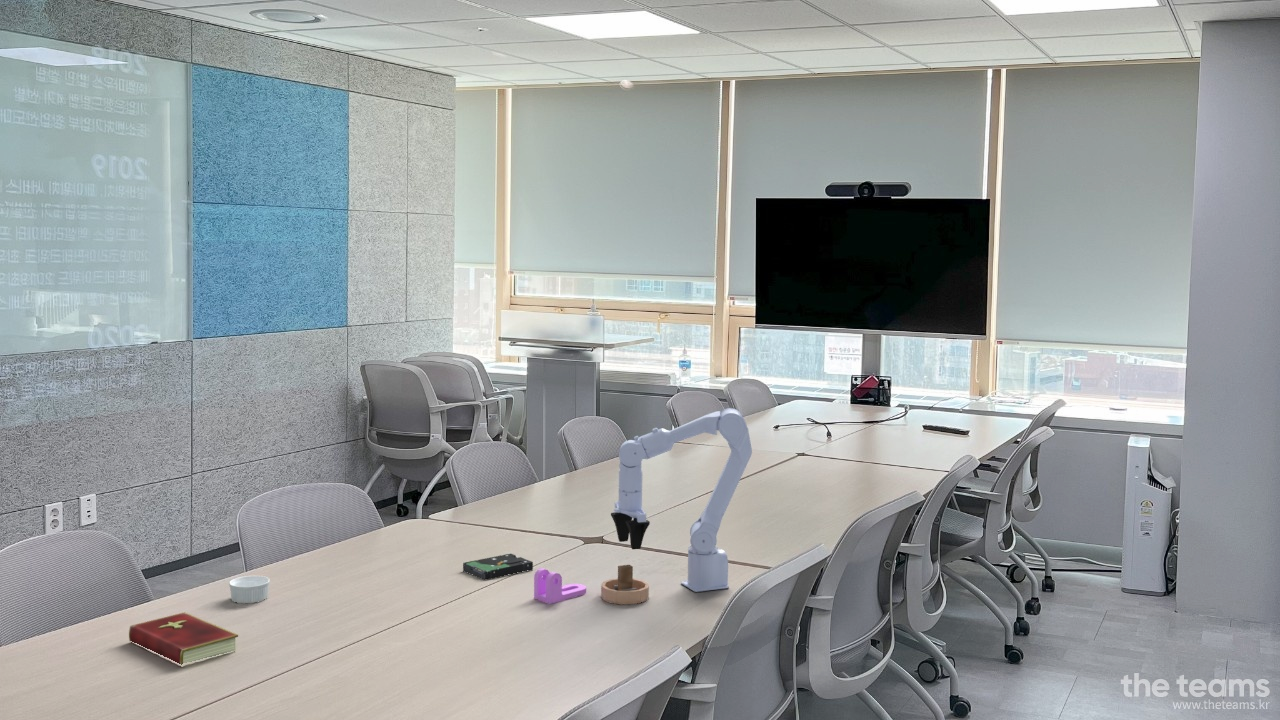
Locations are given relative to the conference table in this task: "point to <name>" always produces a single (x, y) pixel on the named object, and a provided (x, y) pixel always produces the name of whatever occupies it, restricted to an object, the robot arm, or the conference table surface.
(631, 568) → the long tan beam
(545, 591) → the bracket
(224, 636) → the hardcover book
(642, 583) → the round tan tray
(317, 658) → the conference table surface
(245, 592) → the ramekin
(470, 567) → the disk drive
